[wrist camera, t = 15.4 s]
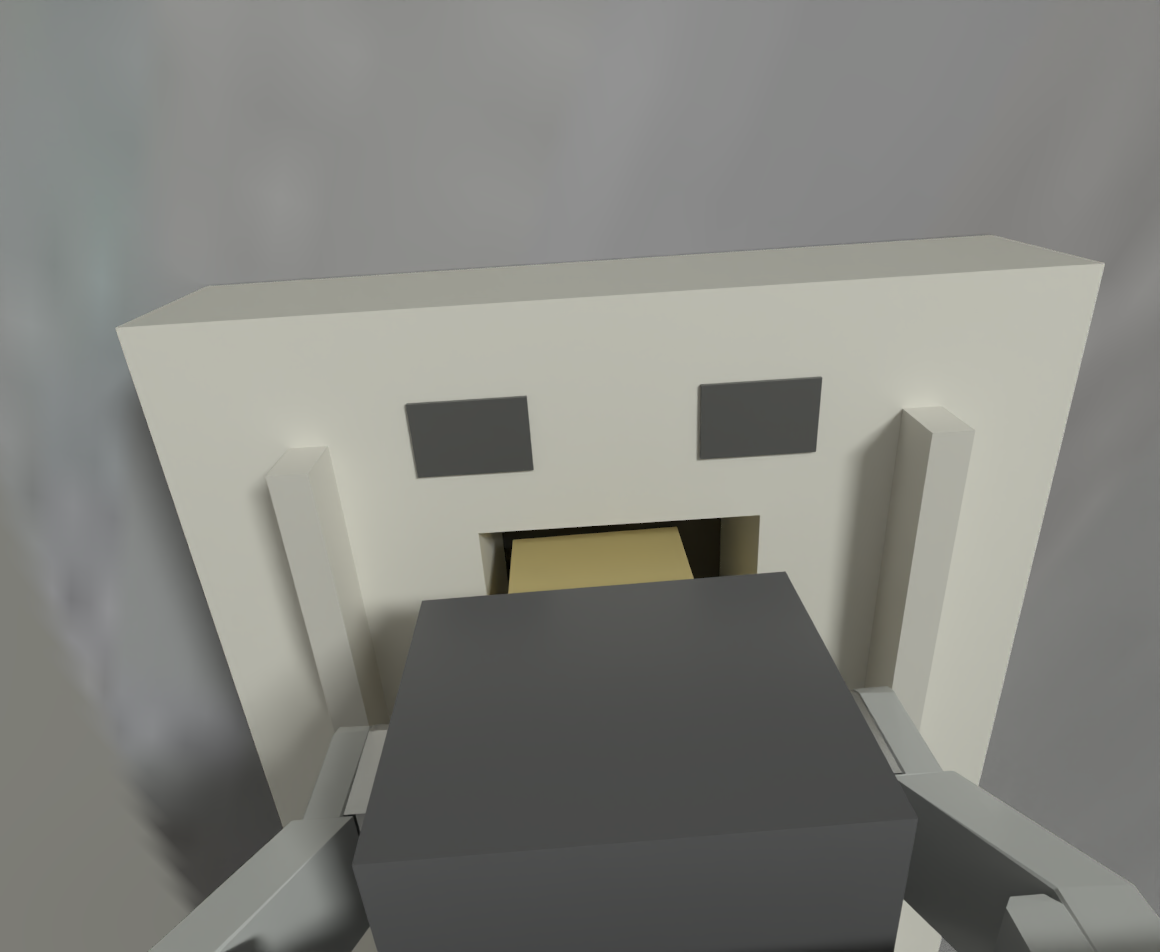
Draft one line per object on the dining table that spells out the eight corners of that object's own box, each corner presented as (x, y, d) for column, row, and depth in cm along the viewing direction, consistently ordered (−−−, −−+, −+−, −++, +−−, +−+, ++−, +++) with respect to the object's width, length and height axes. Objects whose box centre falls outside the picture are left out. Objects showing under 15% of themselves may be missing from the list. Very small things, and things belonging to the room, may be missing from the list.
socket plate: (868, 941, 22) (930, 1103, 18) (394, 971, 22) (362, 1140, 18) (991, 234, 13) (1157, 276, 9) (206, 286, 13) (73, 347, 9)
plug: (727, 692, 15) (863, 1117, 9) (485, 711, 15) (437, 1154, 9) (732, 472, 13) (917, 818, 6) (450, 495, 13) (351, 866, 6)
